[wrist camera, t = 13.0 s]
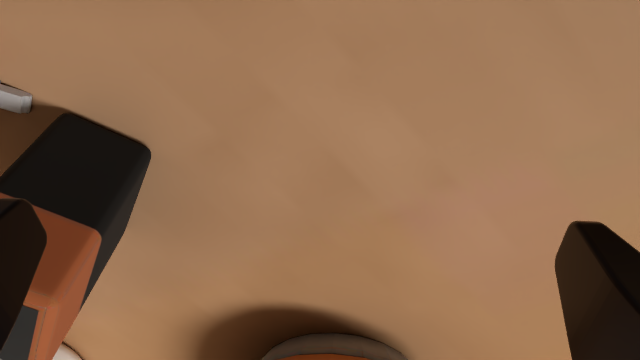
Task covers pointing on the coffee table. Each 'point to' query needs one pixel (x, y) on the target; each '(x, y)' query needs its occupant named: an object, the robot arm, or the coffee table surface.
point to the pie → (332, 348)
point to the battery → (70, 222)
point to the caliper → (14, 99)
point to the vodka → (66, 353)
